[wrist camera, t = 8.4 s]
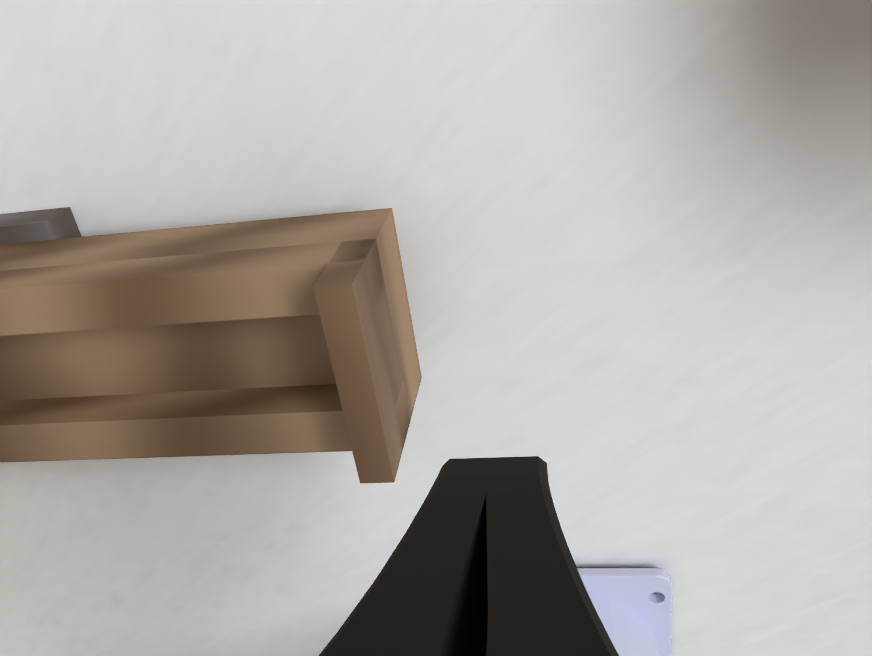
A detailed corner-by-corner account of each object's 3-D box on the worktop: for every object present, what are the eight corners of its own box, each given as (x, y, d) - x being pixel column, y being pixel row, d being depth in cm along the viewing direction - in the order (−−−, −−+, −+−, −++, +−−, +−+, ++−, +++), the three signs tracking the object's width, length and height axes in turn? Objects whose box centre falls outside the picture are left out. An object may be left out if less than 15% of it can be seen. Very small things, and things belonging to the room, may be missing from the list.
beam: (396, 174, 19) (347, 260, 14) (429, 369, 22) (397, 499, 17) (-288, 243, 23) (-514, 330, 18) (-184, 401, 25) (-355, 514, 21)
